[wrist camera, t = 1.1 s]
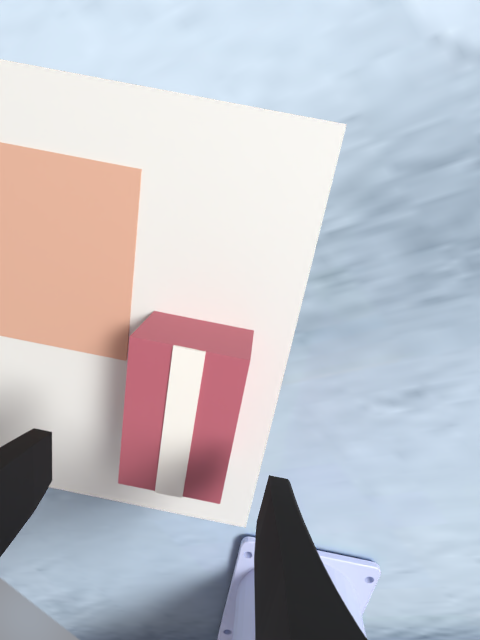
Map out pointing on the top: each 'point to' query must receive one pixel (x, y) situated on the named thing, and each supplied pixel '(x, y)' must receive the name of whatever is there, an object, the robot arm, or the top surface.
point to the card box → (182, 405)
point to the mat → (146, 257)
